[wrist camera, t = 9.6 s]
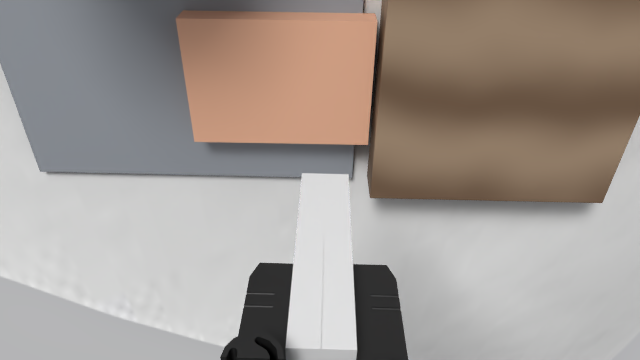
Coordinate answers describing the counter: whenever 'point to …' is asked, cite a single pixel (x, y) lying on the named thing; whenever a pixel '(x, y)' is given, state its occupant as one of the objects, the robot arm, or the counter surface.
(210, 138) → the card
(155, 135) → the mat
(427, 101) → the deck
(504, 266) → the counter surface
